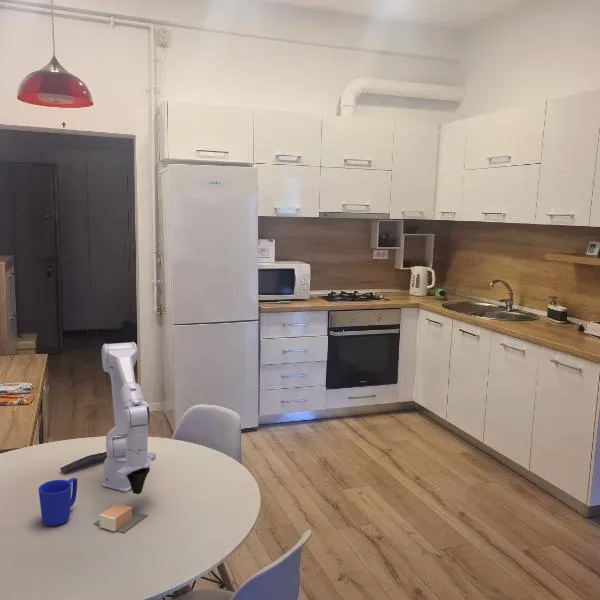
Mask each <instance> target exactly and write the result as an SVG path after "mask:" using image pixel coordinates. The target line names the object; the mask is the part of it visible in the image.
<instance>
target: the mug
mask: <svg viewBox="0 0 600 600" xmlns="http://www.w3.org/2000/svg"><path fill="white" fill-rule="evenodd" d="M77 490H78V478H77V477H71V478H70V479H68V480H67V479H55V480H48V481H46V482H44V483H42V484H41V485H40V486H39V487H38V496H39V505H40V513H41V520H42V523H43V524H44V525H45V526H48V527H56V526H61V525H63V524H65V523H66V522H68V520H69V519H70V516H71V515H70V514H71V507H73V506H74V504H75V502H76V499H77V492H78V491H77Z"/></svg>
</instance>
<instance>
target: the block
mask: <svg viewBox="0 0 600 600" xmlns="http://www.w3.org/2000/svg"><path fill="white" fill-rule="evenodd" d="M132 511H133V507H132V506H129V505H125V504H121V503H118V502H116V504H114V505H112V506H111V507H109V508H108V509H106V510H104V511H103V512H102V513H101V512H100V513H99V520H100V526H99V528H101V529H104V530H108V531H111V532H117V531H116V530H118V529H119V528H120V527H122V526H123V525H125V524H126V523H128V522H129V521H130V520H132Z"/></svg>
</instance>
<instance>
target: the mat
mask: <svg viewBox="0 0 600 600" xmlns="http://www.w3.org/2000/svg"><path fill="white" fill-rule="evenodd" d="M147 517H148V514H145V513H142V512H139V511H135V510H132V520H130V521H129V522H128V523H126V524H125V525H123V526H122V527H120V528H119V529H118V530H116V531H115V532H118V533H121V534H125V533H127V532H128V531H129V530H131V529H132V528H133V527H134V526H136V525H137V524H139V523H140V522H141V521H143V520H145V518H147ZM93 525H94V526H98V527H100V519H98V520H96V521H95V522H94V523H93Z"/></svg>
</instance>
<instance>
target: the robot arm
mask: <svg viewBox="0 0 600 600" xmlns="http://www.w3.org/2000/svg"><path fill="white" fill-rule="evenodd" d="M138 354H139V352H138V345H137V344H136V342H134V341H131V342H118V343H103V345H102V347H101V361H102V368H103V372H105V373H109V377H110V381H111V394H112V406H113V419H114V426H113V427H112V428H111V429H110V430H108V432H107V433H106V436H105V438H106V441H105V448H106V449H105V450H106V456H107V457H106V458H105V459H104V462H103V483H102V484H101V486H102V487H105V488H109V489H112V490H117V491H120V492H124V493H127V492H129V491H130V490H131V491H132V493H133V494H134V495H140V494H141V493H142V492H143V487H144V485H145V481H146V479H147V476H148V474H149V472H150V471H151V470H150V467H151V462H154V461H156V459H157V452H156V453H155V452H152V451H150V452H148V451H149V450H148V448H149V447H148V446H149V445H148V436H149V435H148V431H149V429H148V428H149V427H148V425H150V424H151V410H150V406H149V404H148V403H147V401H146V400H145V399H144V395H143V392H142V387H141V385H140V384H139V383H137V382H136V378H135V371H134V366H135V365H136V362H137V360H138ZM122 435H123V436H122Z"/></svg>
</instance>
